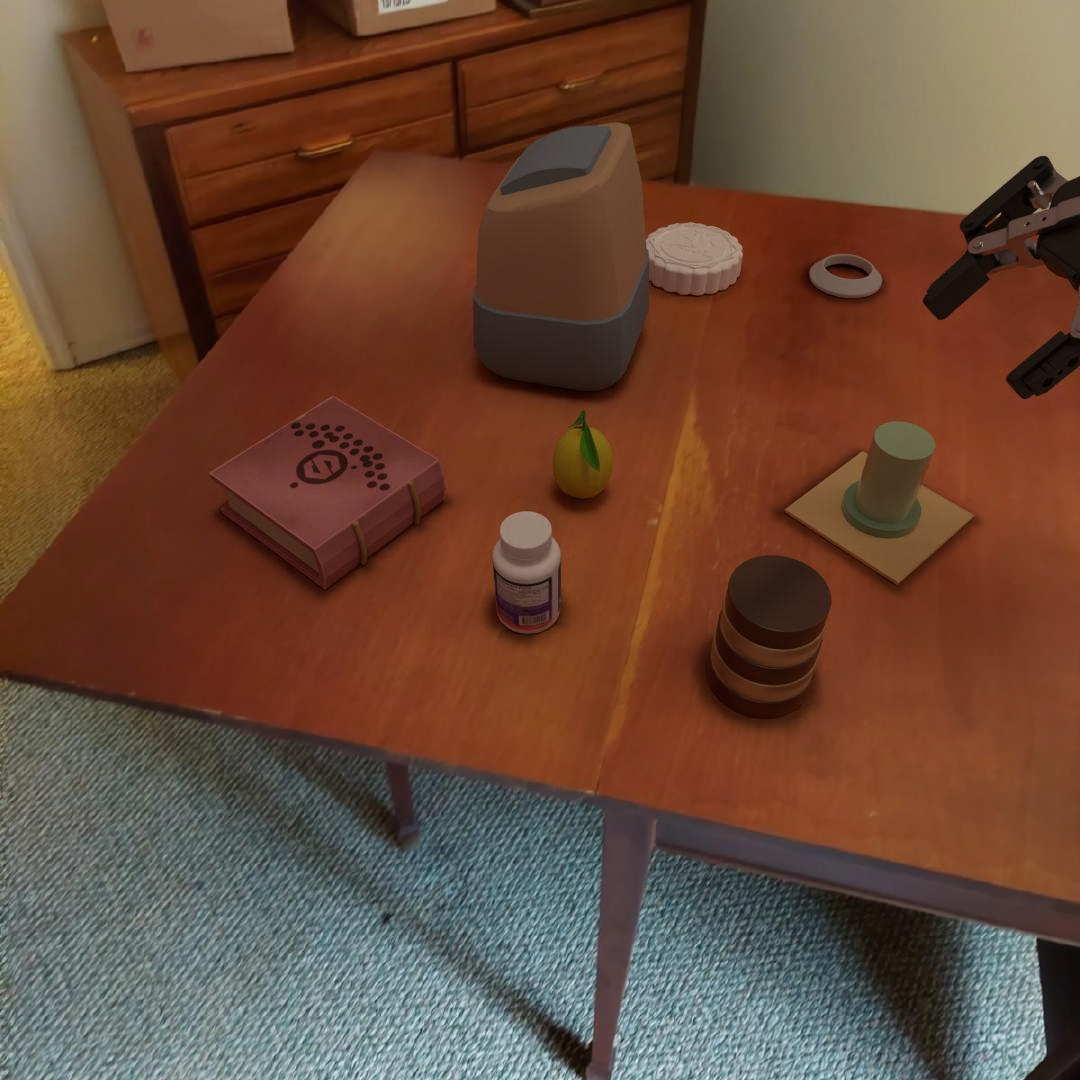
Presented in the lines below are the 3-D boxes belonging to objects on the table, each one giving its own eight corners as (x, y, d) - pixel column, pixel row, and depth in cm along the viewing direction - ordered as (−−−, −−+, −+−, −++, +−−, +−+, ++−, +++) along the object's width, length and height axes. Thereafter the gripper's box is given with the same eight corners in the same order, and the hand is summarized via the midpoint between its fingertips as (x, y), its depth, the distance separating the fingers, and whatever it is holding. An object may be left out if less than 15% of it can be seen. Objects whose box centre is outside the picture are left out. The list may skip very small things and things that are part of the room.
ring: (871, 261, 117) (875, 248, 116) (888, 299, 112) (892, 285, 110) (803, 261, 117) (805, 248, 116) (816, 299, 112) (819, 285, 110)
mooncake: (756, 262, 117) (760, 235, 115) (712, 307, 111) (716, 280, 108) (669, 235, 122) (672, 209, 119) (622, 278, 115) (624, 250, 113)
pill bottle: (518, 577, 82) (514, 495, 75) (572, 601, 80) (574, 519, 73) (483, 619, 79) (476, 538, 72) (539, 645, 77) (537, 564, 70)
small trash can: (512, 300, 112) (505, 98, 95) (652, 321, 109) (670, 115, 92) (465, 384, 101) (448, 171, 84) (620, 410, 98) (634, 194, 81)
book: (331, 594, 81) (321, 554, 77) (222, 513, 88) (208, 472, 84) (450, 504, 88) (446, 463, 85) (341, 435, 95) (333, 395, 92)
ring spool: (933, 513, 86) (962, 441, 80) (889, 550, 83) (916, 478, 77) (870, 475, 90) (893, 404, 84) (826, 509, 87) (846, 438, 81)
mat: (973, 518, 87) (974, 515, 86) (897, 585, 81) (898, 582, 81) (861, 453, 93) (862, 450, 92) (784, 512, 87) (784, 509, 87)
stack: (830, 677, 75) (860, 594, 67) (765, 737, 71) (789, 656, 64) (750, 618, 79) (770, 534, 71) (685, 672, 75) (699, 589, 68)
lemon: (597, 527, 86) (601, 443, 79) (539, 507, 88) (537, 423, 81) (626, 482, 90) (632, 398, 83) (570, 464, 92) (572, 380, 85)
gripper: (1111, 41, 54) (879, 258, 60) (1323, 144, 44) (1022, 389, 50) (1147, 124, 59) (929, 317, 64) (1345, 233, 49) (1068, 448, 55)
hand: (970, 348), depth 57 cm, fingers open, 8 cm apart
